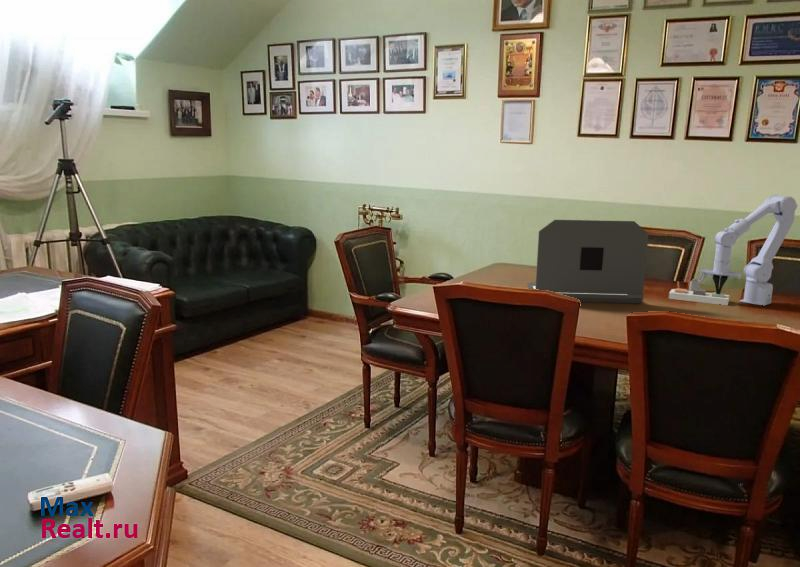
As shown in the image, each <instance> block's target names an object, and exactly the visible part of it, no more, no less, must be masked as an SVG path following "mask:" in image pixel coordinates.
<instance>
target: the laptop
mask: <svg viewBox="0 0 800 567" xmlns="http://www.w3.org/2000/svg"><path fill="white" fill-rule="evenodd" d="M649 235H650V234H649V233H648V232H647V231H646V230H645V229H644V228H643V227H642V226H640V225H639V224H638V223H637V222H636V221H634V220H590V219H587V220H586V219H585V220H584V219H583V220H582V219H553V220H552V221H551V222H549V223H547V224H546V225H545V226H544V227H543V228H541V229H539V231H538V237H537V238H538V239H537V254H536V256H537V258H536V271H535V281H532V282H526V283H525V284H526V285H527V287H528V288H529V290H530V289H539V290H549V291H553V292H557V293H560V294H563V295H567V296H570V297H574V298H577V299H579V300H580V301H581V302H580V303H601V302H608V303H609V304H610V303H611V304H613V303H614V304H639V303H640V302H642V301H643V300H644V287H645V286H644V285H645V276H646V264H647V254H648V244H649Z"/></svg>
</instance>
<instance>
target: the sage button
mask: <svg viewBox="0 0 800 567" xmlns="http://www.w3.org/2000/svg"><path fill="white" fill-rule="evenodd" d="M711 293H712V297H721V298H724V295H725V292H720V294H716V291H714V292H711Z"/></svg>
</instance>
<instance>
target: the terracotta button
mask: <svg viewBox="0 0 800 567" xmlns="http://www.w3.org/2000/svg"><path fill="white" fill-rule="evenodd" d="M674 289H675V292H676V293H685V294H687V291H688V288H674Z"/></svg>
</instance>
